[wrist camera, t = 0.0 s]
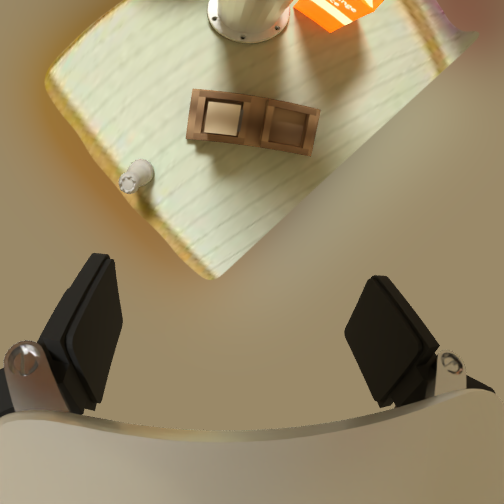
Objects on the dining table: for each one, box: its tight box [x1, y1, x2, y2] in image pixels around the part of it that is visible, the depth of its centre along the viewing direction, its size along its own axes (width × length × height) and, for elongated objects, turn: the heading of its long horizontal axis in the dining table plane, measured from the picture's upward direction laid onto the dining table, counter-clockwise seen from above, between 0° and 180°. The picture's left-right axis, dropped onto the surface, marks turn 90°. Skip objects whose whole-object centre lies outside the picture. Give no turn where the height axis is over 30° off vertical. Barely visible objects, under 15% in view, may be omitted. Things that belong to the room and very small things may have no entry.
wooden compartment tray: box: [186, 89, 320, 156], centre depth 36 cm, size 8×20×9 cm, turn 81°
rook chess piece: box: [119, 159, 154, 194], centre depth 38 cm, size 4×4×8 cm
